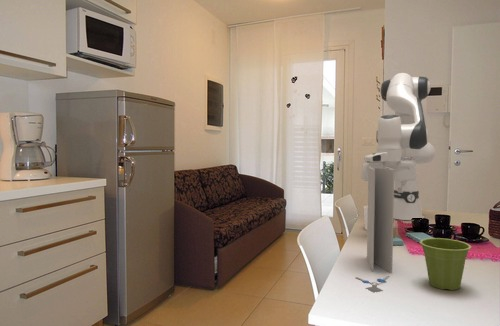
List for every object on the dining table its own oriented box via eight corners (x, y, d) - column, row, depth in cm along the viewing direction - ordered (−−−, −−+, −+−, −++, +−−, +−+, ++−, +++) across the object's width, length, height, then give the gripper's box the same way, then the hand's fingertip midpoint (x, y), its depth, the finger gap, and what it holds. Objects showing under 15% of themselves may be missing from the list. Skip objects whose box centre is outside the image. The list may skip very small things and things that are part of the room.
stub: (374, 235, 150) (374, 222, 149) (388, 235, 150) (388, 222, 149) (387, 245, 136) (387, 230, 135) (403, 245, 136) (403, 230, 135)
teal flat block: (406, 236, 150) (406, 232, 150) (423, 236, 150) (423, 232, 150) (422, 245, 136) (422, 241, 136) (441, 245, 136) (441, 241, 136)
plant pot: (425, 274, 105) (426, 235, 104) (473, 284, 97) (474, 242, 97) (413, 286, 96) (414, 244, 95) (465, 298, 88) (466, 252, 88)
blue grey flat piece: (381, 295, 91) (381, 292, 91) (348, 289, 95) (348, 286, 95) (390, 278, 103) (390, 275, 103) (360, 273, 107) (360, 270, 107)
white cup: (384, 231, 158) (385, 208, 157) (366, 231, 158) (366, 208, 157) (378, 227, 165) (379, 205, 165) (361, 227, 166) (361, 205, 165)
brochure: (392, 273, 106) (394, 169, 105) (372, 271, 107) (374, 169, 106) (384, 258, 120) (386, 167, 118) (366, 257, 121) (368, 166, 120)
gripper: (411, 156, 144) (411, 191, 145) (360, 156, 144) (359, 191, 145) (419, 157, 138) (418, 193, 139) (365, 157, 138) (365, 193, 138)
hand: (388, 192), depth 142 cm, fingers open, 8 cm apart
